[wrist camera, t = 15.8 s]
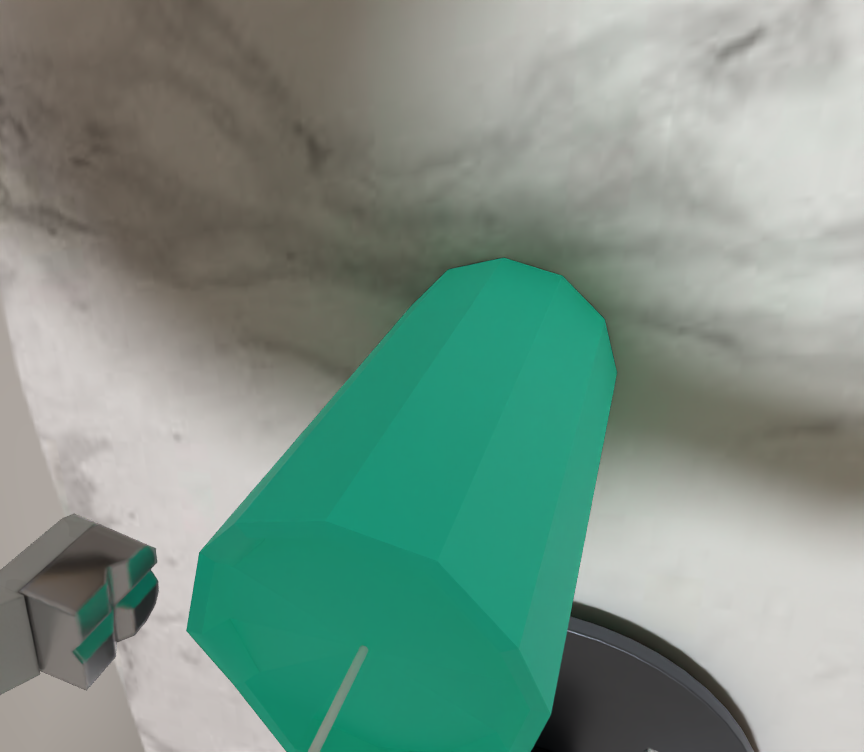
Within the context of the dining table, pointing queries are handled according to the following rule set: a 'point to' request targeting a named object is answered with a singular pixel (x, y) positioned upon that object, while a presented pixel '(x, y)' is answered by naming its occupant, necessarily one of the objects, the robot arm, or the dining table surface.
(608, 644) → the pot lid
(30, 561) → the robot arm
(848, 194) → the dining table surface
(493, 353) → the candle
